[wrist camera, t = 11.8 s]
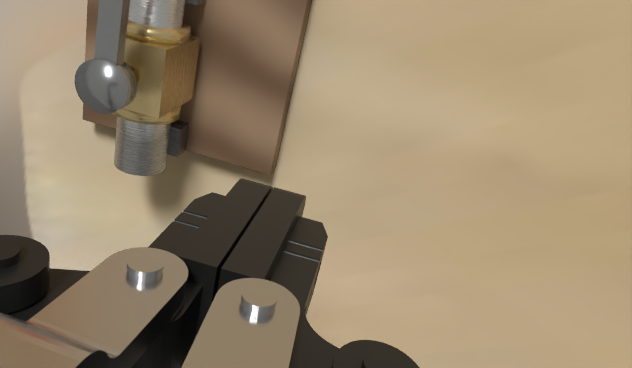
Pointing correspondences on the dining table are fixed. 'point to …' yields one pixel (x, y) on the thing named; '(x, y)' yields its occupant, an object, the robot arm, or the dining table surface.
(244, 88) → the mounting board
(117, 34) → the lever
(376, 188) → the dining table surface
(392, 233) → the dining table surface
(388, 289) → the dining table surface
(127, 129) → the valve
